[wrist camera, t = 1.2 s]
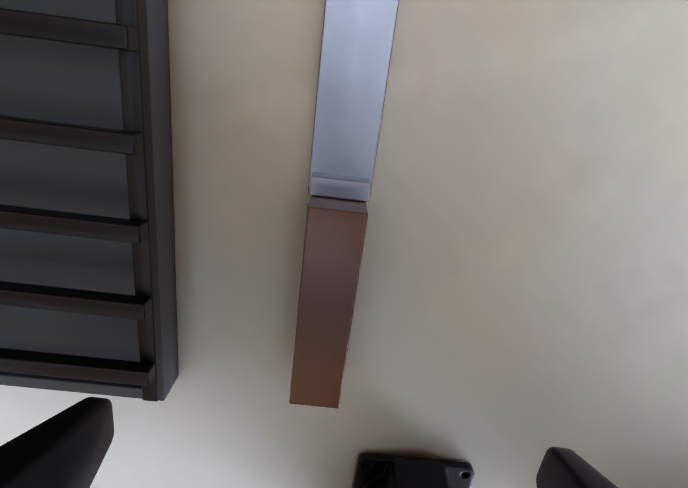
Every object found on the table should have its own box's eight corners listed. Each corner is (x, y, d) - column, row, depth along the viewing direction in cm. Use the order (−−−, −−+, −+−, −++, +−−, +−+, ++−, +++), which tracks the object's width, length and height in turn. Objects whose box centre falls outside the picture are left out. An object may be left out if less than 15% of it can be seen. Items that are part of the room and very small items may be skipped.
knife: (343, 368, 20) (343, 409, 18) (292, 363, 20) (284, 403, 17) (423, -167, 13) (443, -234, 10) (342, -179, 13) (342, -250, 10)
